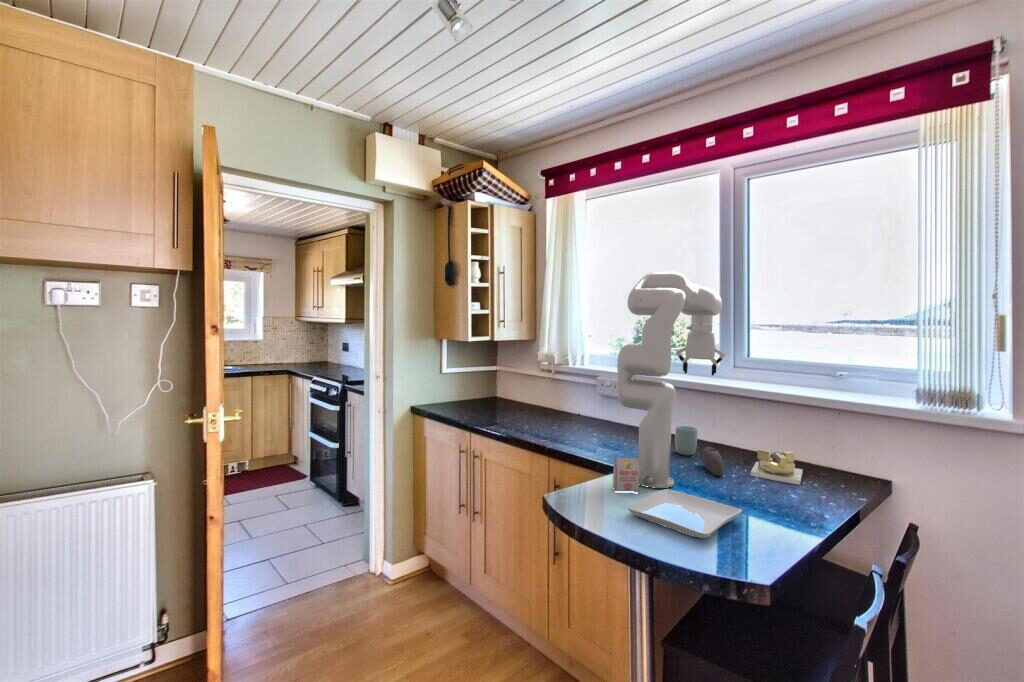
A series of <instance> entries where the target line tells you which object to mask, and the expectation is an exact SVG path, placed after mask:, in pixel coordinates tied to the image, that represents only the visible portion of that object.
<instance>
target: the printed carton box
mask: <svg viewBox="0 0 1024 682" xmlns="http://www.w3.org/2000/svg"><path fill="white" fill-rule="evenodd" d="M612 471H613V474H612V489H613V488H614V490H615V491H634V492H639V491H640V489H639V488H640V485H639V459H638V457H621V456H620V457H614V464H613V469H612Z"/></svg>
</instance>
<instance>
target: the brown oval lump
mask: <svg viewBox="0 0 1024 682" xmlns="http://www.w3.org/2000/svg"><path fill="white" fill-rule="evenodd" d="M700 455H701V461H702V464H703V466H704V467H705V468H706V470H708V471H709V472H710V473H711V474H713V475H715V476H718V477H719V476H721V475H722V474H723V472H724V466H725V464H724V460H723V458H722V456H721V454H720V453H719V451H718V450H717V449H715V448H714V447H712V446H705V447H704V448H702V451H701V454H700Z"/></svg>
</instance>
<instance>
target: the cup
mask: <svg viewBox="0 0 1024 682" xmlns="http://www.w3.org/2000/svg"><path fill="white" fill-rule="evenodd" d="M674 431H675V432H674V433H675V436H674V446H675V450H676V452H677V453H678V455H679V454H680V455H681V456H686V457H687V456H692V455H694V454H695V453H696V451H697V445H698V436H699V435H698V431H699V430H698V428H696V427H694V426H688V425H676V426H675V430H674Z"/></svg>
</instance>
